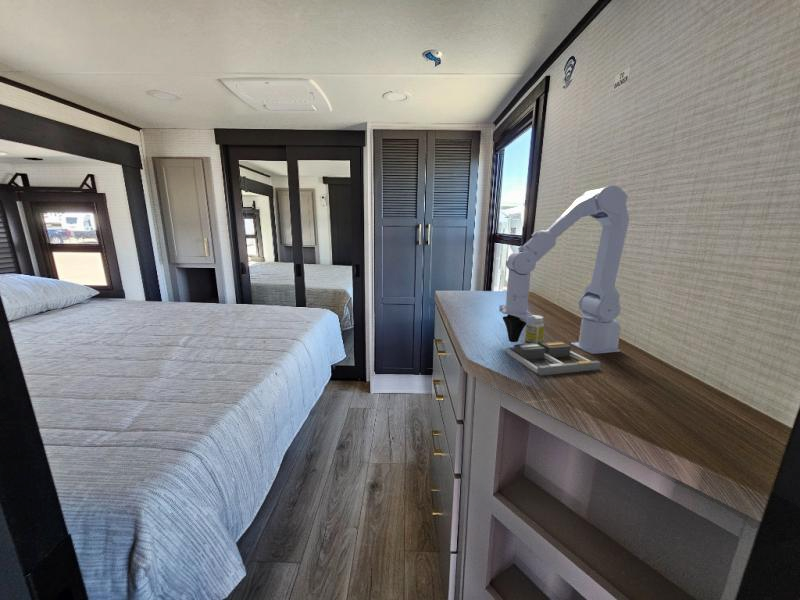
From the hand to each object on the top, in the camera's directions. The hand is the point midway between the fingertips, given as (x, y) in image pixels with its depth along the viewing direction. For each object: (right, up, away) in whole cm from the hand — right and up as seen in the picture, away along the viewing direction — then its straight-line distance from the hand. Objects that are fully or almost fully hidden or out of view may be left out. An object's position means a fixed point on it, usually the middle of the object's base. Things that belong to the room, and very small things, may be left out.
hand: (513, 341), depth 88 cm
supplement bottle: (+7, -1, +4) cm, 8 cm away
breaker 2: (+9, -3, -5) cm, 11 cm away
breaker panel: (+6, -4, -9) cm, 11 cm away
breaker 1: (+2, -3, -7) cm, 8 cm away
